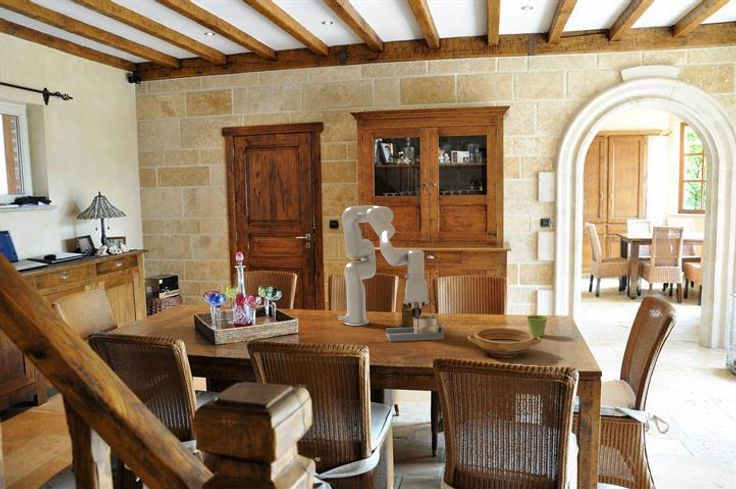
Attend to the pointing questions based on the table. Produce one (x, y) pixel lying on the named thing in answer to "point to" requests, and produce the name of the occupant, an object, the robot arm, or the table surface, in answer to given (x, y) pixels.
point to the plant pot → (537, 325)
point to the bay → (412, 334)
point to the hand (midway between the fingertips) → (416, 316)
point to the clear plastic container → (425, 323)
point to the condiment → (406, 317)
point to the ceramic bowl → (504, 341)
